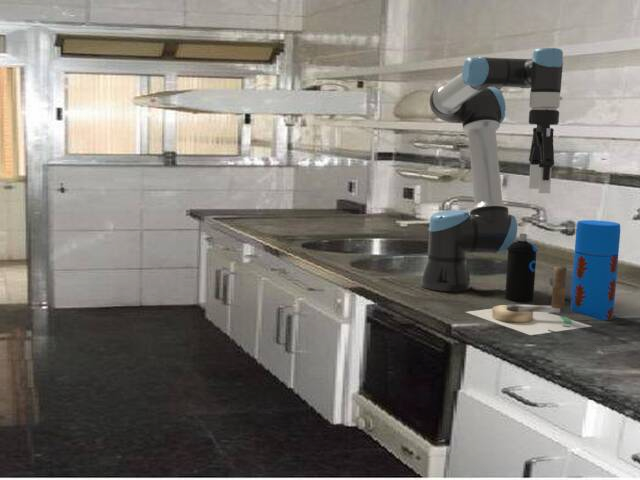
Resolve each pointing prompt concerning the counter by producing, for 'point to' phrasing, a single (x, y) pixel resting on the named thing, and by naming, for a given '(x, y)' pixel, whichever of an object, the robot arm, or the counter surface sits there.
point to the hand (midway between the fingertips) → (538, 190)
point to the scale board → (534, 322)
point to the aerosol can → (521, 271)
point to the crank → (526, 311)
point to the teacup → (568, 283)
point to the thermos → (595, 268)
